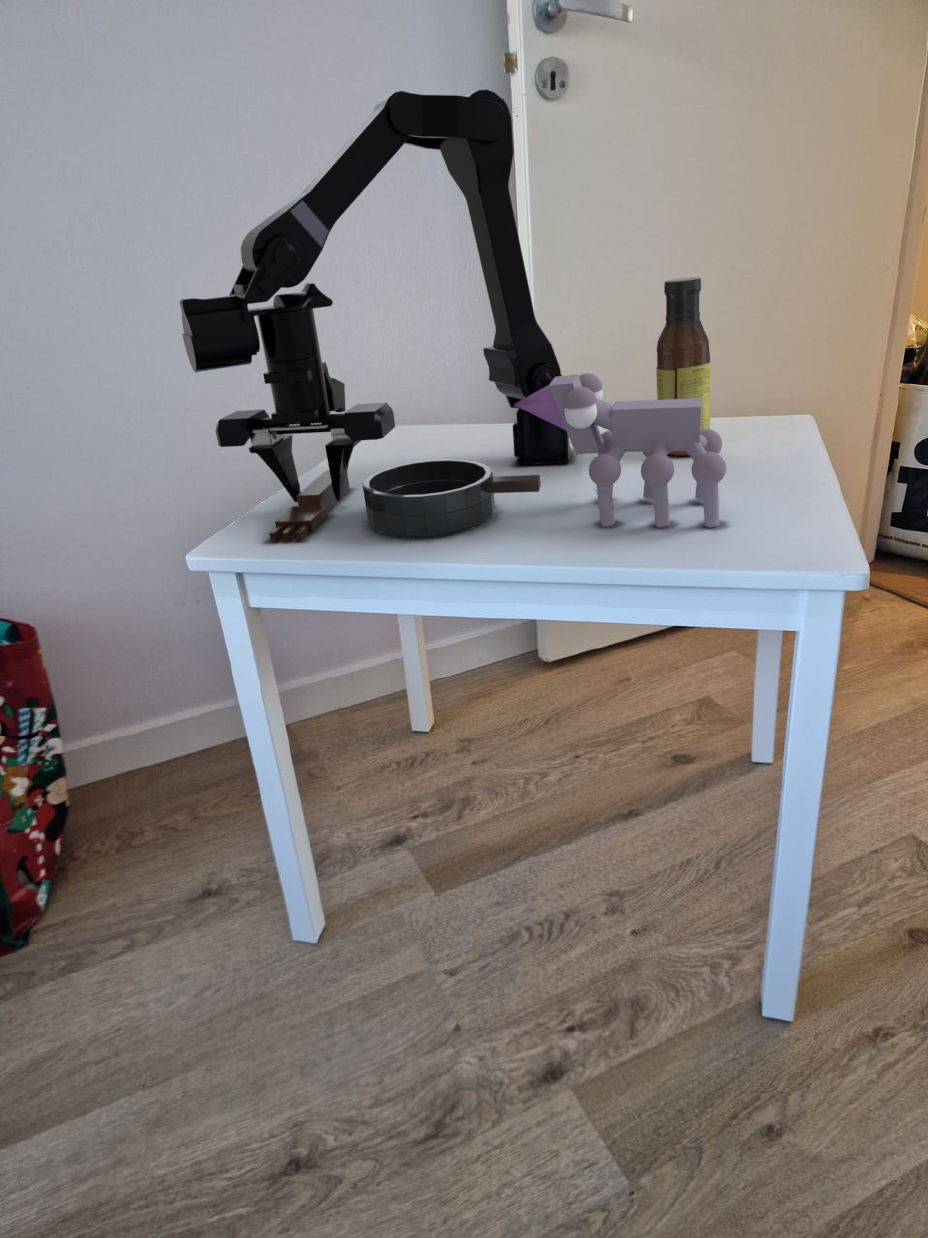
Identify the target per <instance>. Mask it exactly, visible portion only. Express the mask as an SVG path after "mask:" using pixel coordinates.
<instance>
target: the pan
mask: <svg viewBox="0 0 928 1238" xmlns="http://www.w3.org/2000/svg"><path fill="white" fill-rule="evenodd" d="M492 477H494V473H493V470H492V468H491V467H490V466H489V465H487V464H485V463H482V462H479V461H474V460H470V459H469V460H468V459H459V458H458V459H457V458H455V459H454V458H444V459H443V458H442V459H441V458H440V459H427V460H426V459H425V460H418V461H411V462H406V463H401V464H397V465H393V466H389V467H387V468H386V467H385V468H384V469H380V470H378V471H376V472H374V473H372V474H370V475H368V476H367V477H366V478H365V479H364V480H363V481H362V491H363V497H364V503H365V511H366V517H367V524H368V526H369V527H371V529H373V530H375V531H377V532H380V533H381V534H383V535H386V536H390V537H393V538H400V539H401V538H402V539H430V538H431V539H433V538H440V537H445V536H452V535H456V534H459V533H463V532H466V531H469V530H472V529H474V528H476V527H478V526H479V525H482V524H484V522H486V520H487V519H489V518H490V517H491V516H493V515H494V512H495V511H496V499H495V493H491V490H490V481H491V479H492Z"/></svg>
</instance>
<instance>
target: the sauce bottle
mask: <svg viewBox="0 0 928 1238" xmlns="http://www.w3.org/2000/svg"><path fill="white" fill-rule="evenodd" d="M701 279H702V278H701V277H700V276H692V277H691V276H690V277H680V278H673V279H667V280H665V281H664V283H663V284H664V289H663V290H664V291H663V292H664V295H665V304H666V305H665V310H666V313H665V325H664V327H663V329H662V331H661V333H660V335H659V337H658V340H657V343H656V368H655V369H656V371H655V372H656V400H667V399H695V398H702V402H701V426H700V430H703V429H711V351H710V340H709V337H708V335H707V333H706V331H705V329H704V327H703V324H702V320H701V318H700V317H701V312H700V294H701V293H700V292H701V290H702V280H701ZM667 455H671V456H676V457H677V456H690V455H689V454H688V452H687V451H670V452H669V453H668V454H667Z"/></svg>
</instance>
